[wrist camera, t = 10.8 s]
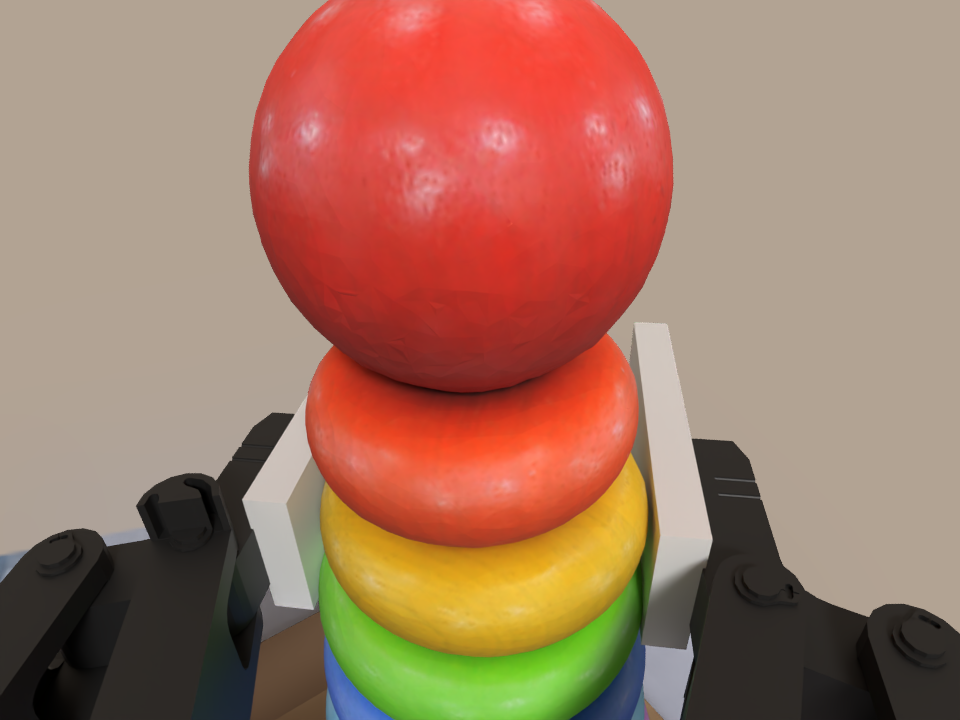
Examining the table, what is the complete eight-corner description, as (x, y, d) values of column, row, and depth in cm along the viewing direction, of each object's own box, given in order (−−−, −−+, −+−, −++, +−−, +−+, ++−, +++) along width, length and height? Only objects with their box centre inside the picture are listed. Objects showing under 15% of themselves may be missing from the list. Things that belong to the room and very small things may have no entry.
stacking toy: (357, 657, 20) (216, -41, 10) (607, 643, 21) (709, -53, 11) (315, 1001, 14) (-199, -24, 4) (687, 974, 14) (1166, -55, 4)
